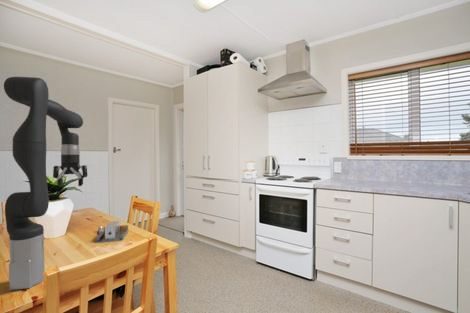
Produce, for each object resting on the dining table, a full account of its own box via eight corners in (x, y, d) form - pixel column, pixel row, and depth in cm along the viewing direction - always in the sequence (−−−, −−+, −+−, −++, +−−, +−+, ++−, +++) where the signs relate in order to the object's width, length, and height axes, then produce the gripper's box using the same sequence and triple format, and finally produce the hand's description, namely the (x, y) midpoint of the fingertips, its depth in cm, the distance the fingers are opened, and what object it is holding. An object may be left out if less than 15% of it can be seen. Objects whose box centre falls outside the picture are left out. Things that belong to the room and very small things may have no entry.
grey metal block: (115, 239, 123) (114, 226, 123) (104, 240, 122) (104, 227, 122) (120, 232, 133) (120, 220, 133) (110, 233, 132) (110, 221, 132)
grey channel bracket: (122, 240, 122) (121, 233, 122) (95, 243, 119) (95, 235, 119) (128, 231, 136) (128, 224, 136) (104, 233, 133) (104, 226, 133)
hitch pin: (103, 234, 132) (103, 229, 132) (98, 234, 131) (98, 230, 131) (103, 230, 138) (103, 226, 138) (97, 231, 136) (97, 226, 136)
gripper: (49, 154, 109) (50, 187, 108) (82, 153, 111) (83, 186, 111) (58, 154, 116) (58, 186, 116) (89, 154, 119) (89, 184, 119)
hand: (70, 186), depth 114 cm, fingers open, 8 cm apart
